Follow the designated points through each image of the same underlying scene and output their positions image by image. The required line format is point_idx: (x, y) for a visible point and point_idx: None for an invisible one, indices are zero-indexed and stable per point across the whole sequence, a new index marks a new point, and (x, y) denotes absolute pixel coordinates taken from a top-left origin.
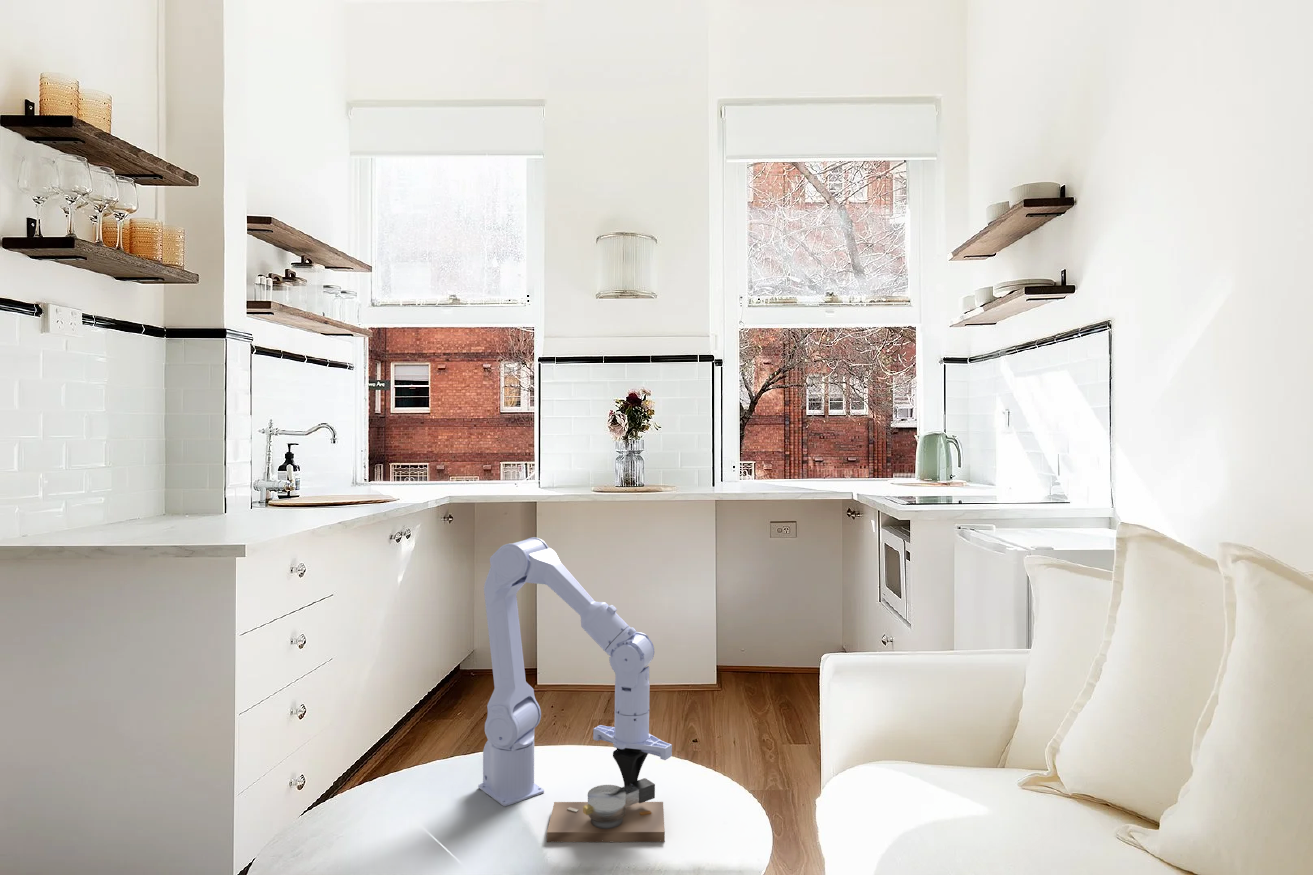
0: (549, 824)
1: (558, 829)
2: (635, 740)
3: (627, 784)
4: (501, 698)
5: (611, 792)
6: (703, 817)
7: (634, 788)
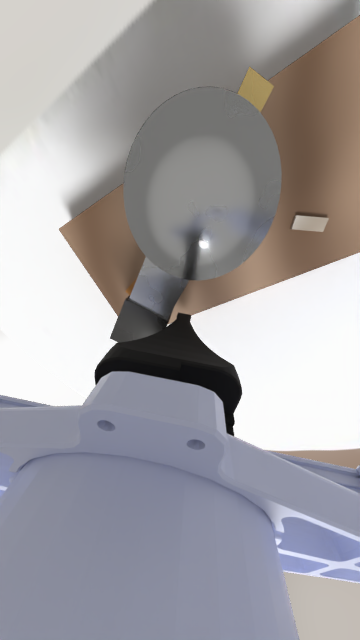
0: None
1: (331, 63)
2: (13, 490)
3: (178, 319)
4: None
5: (185, 222)
6: (79, 334)
7: (145, 301)
